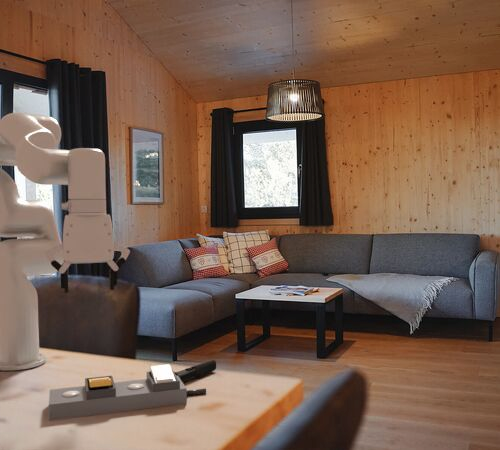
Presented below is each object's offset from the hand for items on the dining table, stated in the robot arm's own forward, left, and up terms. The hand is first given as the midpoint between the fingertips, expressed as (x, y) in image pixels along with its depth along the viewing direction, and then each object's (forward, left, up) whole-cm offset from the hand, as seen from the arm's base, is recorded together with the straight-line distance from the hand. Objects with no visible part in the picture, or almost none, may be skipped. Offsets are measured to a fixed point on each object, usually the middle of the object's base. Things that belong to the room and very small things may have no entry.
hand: (89, 290), depth 119 cm
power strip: (+8, +7, -22) cm, 25 cm away
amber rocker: (+8, +1, -18) cm, 19 cm away
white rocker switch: (+8, +14, -18) cm, 24 cm away
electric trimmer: (-3, +22, -23) cm, 32 cm away
